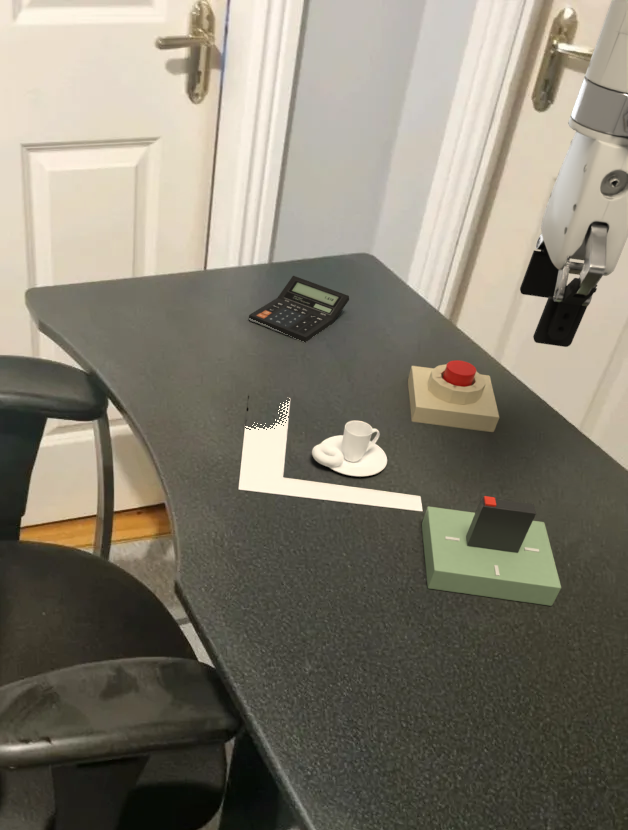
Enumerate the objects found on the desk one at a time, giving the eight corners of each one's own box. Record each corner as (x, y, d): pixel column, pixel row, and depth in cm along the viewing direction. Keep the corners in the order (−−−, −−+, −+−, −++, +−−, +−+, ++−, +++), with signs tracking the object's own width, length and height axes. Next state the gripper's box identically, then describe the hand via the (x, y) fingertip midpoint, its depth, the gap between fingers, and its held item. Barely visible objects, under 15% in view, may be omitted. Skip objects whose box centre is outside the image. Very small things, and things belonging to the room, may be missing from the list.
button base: (484, 390, 111) (494, 362, 108) (493, 432, 104) (504, 404, 101) (407, 380, 111) (415, 352, 109) (411, 422, 104) (419, 393, 102)
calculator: (248, 320, 121) (251, 300, 118) (291, 294, 127) (294, 274, 125) (304, 343, 117) (308, 322, 115) (346, 314, 124) (350, 294, 122)
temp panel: (535, 540, 89) (545, 520, 88) (552, 606, 82) (562, 586, 80) (421, 524, 90) (428, 504, 88) (427, 588, 83) (435, 568, 81)
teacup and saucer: (309, 474, 95) (316, 443, 92) (310, 434, 101) (316, 404, 98) (388, 483, 95) (397, 453, 92) (384, 443, 101) (392, 413, 98)
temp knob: (516, 543, 85) (534, 501, 81) (518, 553, 84) (537, 511, 80) (465, 536, 85) (482, 494, 81) (467, 545, 84) (483, 504, 80)
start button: (470, 374, 106) (474, 362, 105) (473, 389, 104) (478, 376, 102) (441, 371, 106) (445, 358, 105) (443, 385, 104) (447, 373, 103)
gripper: (704, 152, 60) (602, 371, 72) (648, 88, 72) (569, 284, 84) (595, 139, 60) (512, 358, 72) (558, 77, 73) (492, 273, 85)
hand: (543, 318), depth 78 cm, fingers open, 9 cm apart
